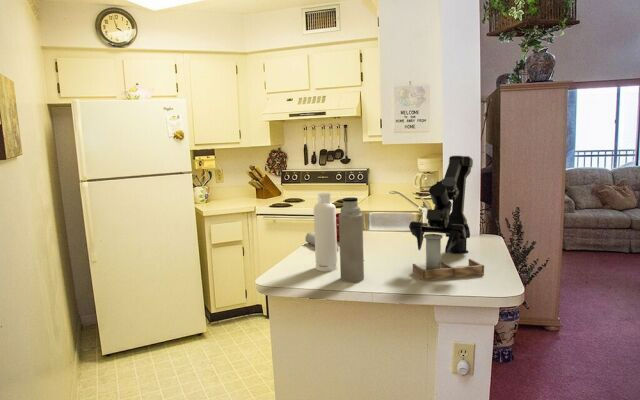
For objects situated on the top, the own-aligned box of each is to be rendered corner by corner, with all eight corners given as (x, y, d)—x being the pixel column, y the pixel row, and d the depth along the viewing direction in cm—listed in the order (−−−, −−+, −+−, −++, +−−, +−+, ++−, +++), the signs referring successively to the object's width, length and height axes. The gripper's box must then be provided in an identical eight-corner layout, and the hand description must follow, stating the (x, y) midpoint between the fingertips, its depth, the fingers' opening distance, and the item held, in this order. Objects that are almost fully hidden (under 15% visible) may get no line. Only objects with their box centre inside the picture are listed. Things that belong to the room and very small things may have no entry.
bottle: (312, 266, 167) (309, 193, 163) (332, 263, 171) (329, 191, 167) (321, 272, 160) (318, 195, 156) (341, 269, 163) (338, 193, 159)
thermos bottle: (344, 274, 157) (341, 196, 153) (366, 276, 154) (364, 196, 150) (337, 281, 149) (335, 199, 145) (360, 283, 147) (358, 199, 143)
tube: (342, 244, 185) (316, 233, 207) (331, 242, 183) (306, 231, 205) (339, 256, 185) (313, 244, 207) (328, 254, 183) (303, 242, 205)
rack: (470, 267, 160) (470, 258, 159) (483, 274, 151) (484, 265, 150) (412, 272, 156) (412, 263, 155) (422, 280, 147) (422, 270, 147)
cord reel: (433, 269, 156) (433, 233, 155) (446, 273, 151) (446, 236, 150) (420, 272, 153) (420, 235, 152) (433, 276, 148) (433, 238, 147)
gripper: (410, 198, 157) (399, 235, 149) (464, 201, 147) (455, 240, 140) (417, 216, 165) (407, 252, 157) (469, 220, 155) (461, 258, 147)
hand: (432, 251), depth 150 cm, fingers open, 9 cm apart
